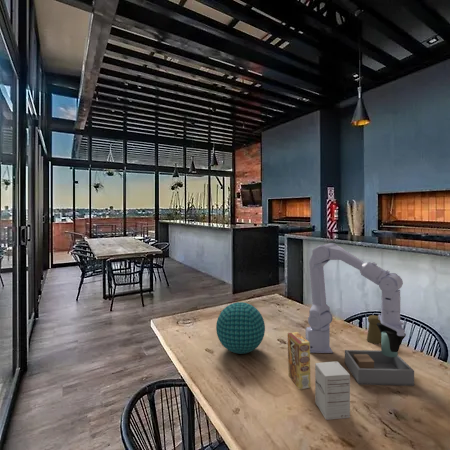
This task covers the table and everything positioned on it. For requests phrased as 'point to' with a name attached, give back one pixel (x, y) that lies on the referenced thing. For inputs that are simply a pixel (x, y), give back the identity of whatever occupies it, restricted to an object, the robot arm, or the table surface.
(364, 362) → the walnut cube
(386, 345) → the teal cylinder
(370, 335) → the cork
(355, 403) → the table surface
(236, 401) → the table surface
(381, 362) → the tote
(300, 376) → the candy box
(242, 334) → the decorative ball
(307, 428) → the table surface
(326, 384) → the supplement box
